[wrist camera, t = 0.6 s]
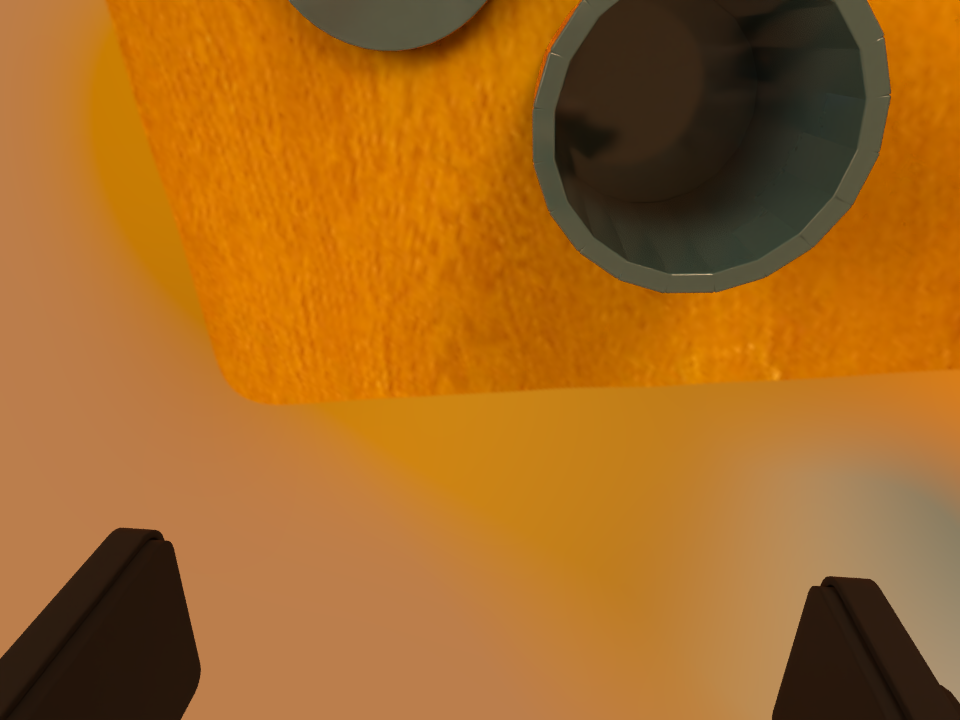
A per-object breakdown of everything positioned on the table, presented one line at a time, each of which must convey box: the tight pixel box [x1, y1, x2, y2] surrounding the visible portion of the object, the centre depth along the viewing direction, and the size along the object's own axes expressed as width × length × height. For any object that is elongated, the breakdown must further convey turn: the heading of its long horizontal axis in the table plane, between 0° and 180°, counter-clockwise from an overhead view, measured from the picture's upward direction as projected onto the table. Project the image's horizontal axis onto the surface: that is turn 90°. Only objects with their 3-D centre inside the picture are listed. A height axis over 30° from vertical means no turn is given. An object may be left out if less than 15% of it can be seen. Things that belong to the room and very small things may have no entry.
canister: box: [532, 0, 891, 293], centre depth 25 cm, size 10×10×12 cm
